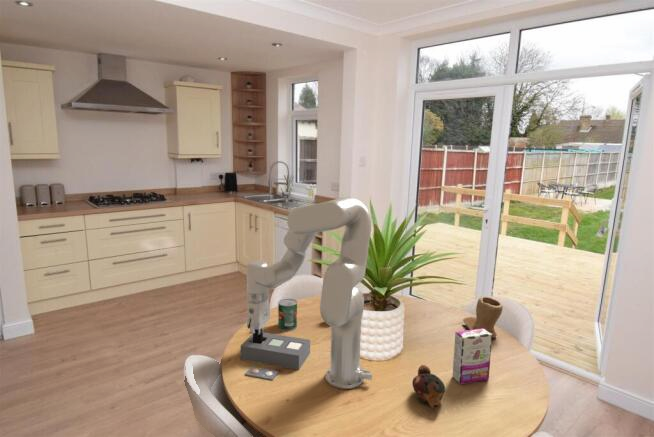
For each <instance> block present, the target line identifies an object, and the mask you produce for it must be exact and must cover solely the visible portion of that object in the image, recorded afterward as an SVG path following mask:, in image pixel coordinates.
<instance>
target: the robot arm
mask: <svg viewBox="0 0 654 437" xmlns="http://www.w3.org/2000/svg"><path fill="white" fill-rule="evenodd" d="M288 213H289V214H288V216H287V218H286V219H287V221H286V222H287V223H286V224H287V226H288V231H287V232H286V234H285V235H284V237H283V244H284V246H285V247H286V248H287V250H285V251H286V252H285V254H284V255H283V257H282V258H281V260H279V261H278V262H276V263H273V264H270V265H269V264H268V263H267V262H266V261H265V260H258V259H257V260H252V261H249V262H248V263H247V264H246V301H247V306H246V327H247V328H248V329H249V334H251V335H252V334H253V343H258V344H262V342H263V333H262V332H264V327H265V326H266V325H267V324H268V323H269V321H270V319H271V315H270V310H271V309H270V301H269V289H270V290H271V289H275V288H278V287H280V286H282V284H285V283H286V282H289V281H290V280H292V279H293V278H294V277H295V276H296V274H297V272H298V271H299V270H300V268H301V267H302V265H303V264H304V261H305V258H306V252H307V250H308V248H309V246H310V245H311V243H312V242H313V240H314V239H315V237H316V236H317V234H318V233H322V232H328V231H334V230H337V229H340V228H342V227H344V228H345V229H344V233H343V235H342V239H341V242H340V243H341V244H340V251H339V255H338V256H339V257H338V258H337V259H336V260H335V261H332V262H331V264H330V265H329V266H328V267H327V268H326V269H325V272H324V274H323V279H322V287H321V296H320V301H319V302H320V304H319V312H320V316H321V319H322V320H323V321H324V323H325V324H326V325H328V326H329V327H331V332H330V335H331V336H330V363H329V364H330V365H329V366H330V368H328V369H327V370H326V372H325V380H326V382H327V383H328V384H329V385H331V386H333V387H334V388H338V389H343V390H347V389H349V390H350V389H355V388H357V387H359V386H360V385H362V384H363V382H364V381H365V380H368V381H372V380H373V373H371V370H370V369H364V368H362V365H363V364H362V363H361V362H360V361H361V360H360V359H361V337H362V336H361V335H362V334H361V333H362V321H363V315H364V314H363V312H364V308H365V298H364V295H363V293H362V292H363V291H361V290H360V289H359V287H357V286H358V285H359V283H361V282H362V281H363V280H364V278H365V275H366V271H367V270H366V269H367V261H368V257H369V255H368V254H369V247H370V240H371V234H372V233H371V232H372V217H371V215H370V212H369V210H368V208H367V207H366V206H365V203H363V202H362V201H360V200H359V199H357V198H355V197H352V196H343V197H338V198H336V199H335V198H334V199H331V200H329V201H328V200H327V201H324V202H319V203H308V204H304V205H301V206H300V205H299V206H297V207H295V208H293V209H291V211H290V212H288Z"/></svg>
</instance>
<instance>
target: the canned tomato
mask: <svg viewBox="0 0 654 437" xmlns="http://www.w3.org/2000/svg"><path fill="white" fill-rule="evenodd" d="M277 309H278V312H277V313H278V315H277V316H278V318H277V320H278V321H277V323H278V326H277V327H278V329H279V330H280V331H285V332H289V331H293V330H295V329H297V327H298V326H297V325H298V301H297V300H296V299H292V298H282V299H280V300H279V301H278V308H277Z"/></svg>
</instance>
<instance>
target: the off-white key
mask: <svg viewBox="0 0 654 437" xmlns="http://www.w3.org/2000/svg"><path fill="white" fill-rule="evenodd" d="M301 346H302V344H300V343H294V342H290V343H289V345H288V346H287V347H286V348H288V349H294V350H299V349H300V348H301Z"/></svg>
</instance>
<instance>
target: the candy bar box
mask: <svg viewBox="0 0 654 437" xmlns="http://www.w3.org/2000/svg"><path fill="white" fill-rule="evenodd" d="M492 343H493V338H492V334H491V333H490V332H488V331H487V330H486V329H484V328H482V329H475V330H470V329H469V330H467V329H466V330H461V331H455V332H454V346H453V347H454V349H453V364H452V378H453V379H454V380H455V381H457V383H458V384H459V385H464V384H470V383H476V382H482V381H488V380H489V379H490V366H491V354H492Z"/></svg>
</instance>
